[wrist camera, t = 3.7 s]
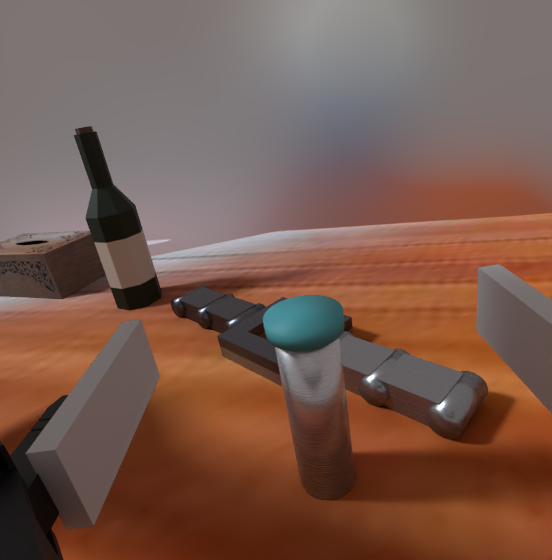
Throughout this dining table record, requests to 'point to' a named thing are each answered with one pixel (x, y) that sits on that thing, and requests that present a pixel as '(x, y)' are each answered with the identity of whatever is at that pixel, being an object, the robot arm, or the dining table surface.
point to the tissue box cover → (48, 264)
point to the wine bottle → (116, 231)
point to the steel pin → (314, 390)
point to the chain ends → (345, 363)
